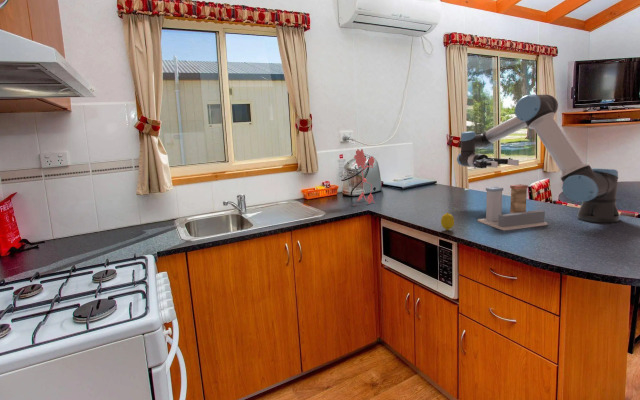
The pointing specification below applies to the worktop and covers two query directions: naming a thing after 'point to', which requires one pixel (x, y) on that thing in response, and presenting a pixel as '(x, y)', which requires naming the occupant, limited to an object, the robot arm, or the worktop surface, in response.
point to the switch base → (517, 220)
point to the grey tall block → (494, 203)
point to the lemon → (447, 221)
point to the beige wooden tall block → (518, 198)
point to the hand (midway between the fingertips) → (507, 163)
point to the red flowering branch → (361, 162)
